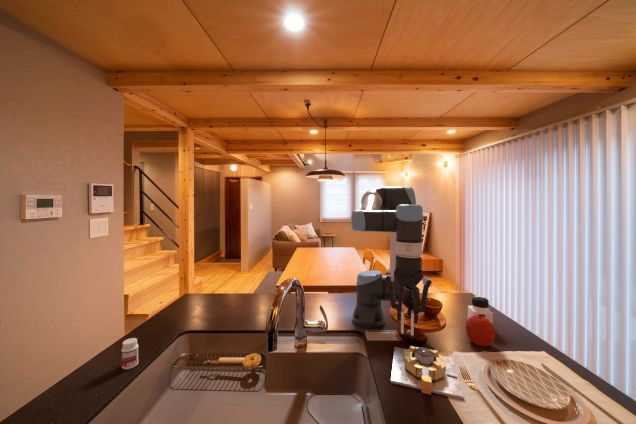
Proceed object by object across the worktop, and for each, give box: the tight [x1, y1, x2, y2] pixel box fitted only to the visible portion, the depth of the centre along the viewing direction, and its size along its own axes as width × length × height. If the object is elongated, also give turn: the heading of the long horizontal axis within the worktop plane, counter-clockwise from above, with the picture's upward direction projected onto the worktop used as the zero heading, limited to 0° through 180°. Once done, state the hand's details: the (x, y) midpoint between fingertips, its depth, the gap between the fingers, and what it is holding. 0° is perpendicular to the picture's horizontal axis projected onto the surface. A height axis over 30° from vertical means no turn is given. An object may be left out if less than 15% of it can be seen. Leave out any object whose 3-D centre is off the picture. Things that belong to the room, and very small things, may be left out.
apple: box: [464, 315, 496, 347], centre depth 102 cm, size 10×10×12 cm
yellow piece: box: [404, 345, 446, 396], centre depth 82 cm, size 19×12×4 cm, turn 160°
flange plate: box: [390, 346, 465, 401], centre depth 85 cm, size 20×20×7 cm
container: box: [467, 295, 494, 325], centre depth 118 cm, size 8×8×13 cm
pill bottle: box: [120, 337, 140, 370], centre depth 87 cm, size 5×5×8 cm
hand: (407, 332), depth 78 cm, fingers open, 2 cm apart
